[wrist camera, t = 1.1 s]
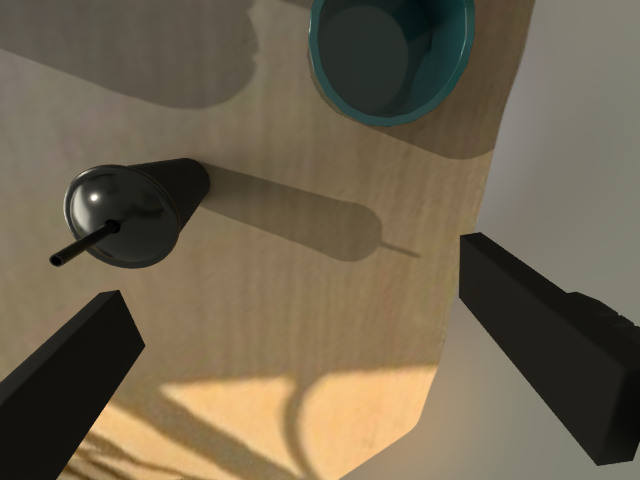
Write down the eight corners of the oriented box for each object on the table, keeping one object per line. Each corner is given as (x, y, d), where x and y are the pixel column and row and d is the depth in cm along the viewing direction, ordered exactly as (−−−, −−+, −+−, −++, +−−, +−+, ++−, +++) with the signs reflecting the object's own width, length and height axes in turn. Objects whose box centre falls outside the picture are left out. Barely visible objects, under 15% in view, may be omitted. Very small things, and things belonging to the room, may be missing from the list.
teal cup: (283, 24, 30) (276, -3, 22) (404, -56, 28) (440, -116, 20) (344, 144, 34) (355, 154, 27) (452, 81, 32) (496, 74, 25)
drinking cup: (211, 138, 33) (95, 174, 15) (231, 207, 36) (155, 309, 18) (140, 150, 33) (-62, 203, 15) (165, 218, 36) (23, 332, 18)
